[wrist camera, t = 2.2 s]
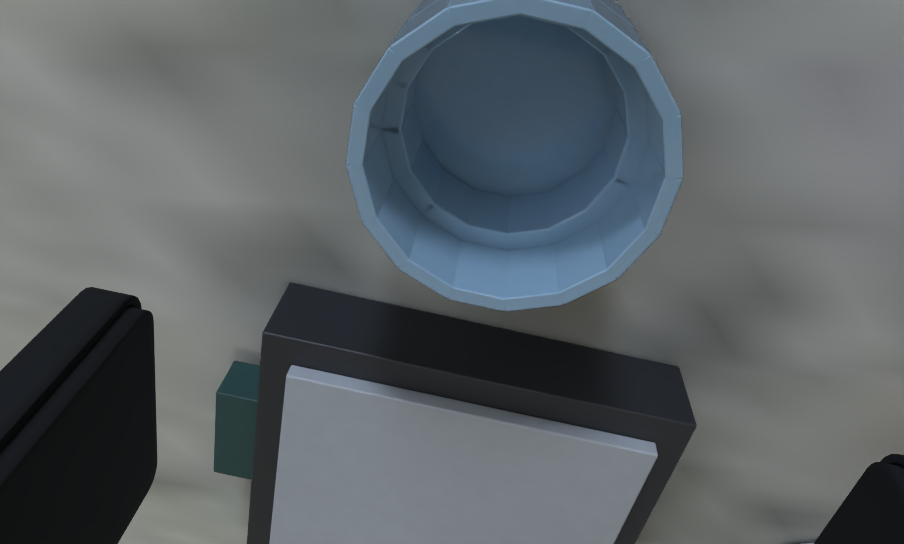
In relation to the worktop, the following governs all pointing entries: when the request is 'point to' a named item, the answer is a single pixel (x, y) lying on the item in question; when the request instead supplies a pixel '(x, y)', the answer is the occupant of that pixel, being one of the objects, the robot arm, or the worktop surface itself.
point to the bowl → (515, 150)
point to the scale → (442, 431)
